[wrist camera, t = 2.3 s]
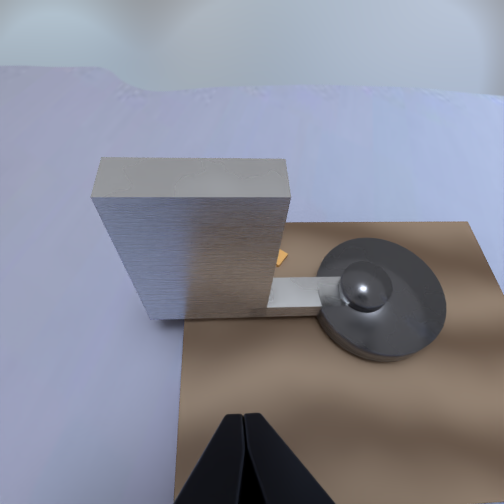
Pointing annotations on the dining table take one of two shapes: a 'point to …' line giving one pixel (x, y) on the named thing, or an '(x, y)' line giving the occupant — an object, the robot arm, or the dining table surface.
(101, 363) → the dining table surface
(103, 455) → the dining table surface
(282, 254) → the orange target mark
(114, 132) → the dining table surface
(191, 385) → the walnut stand plate
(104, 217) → the lever
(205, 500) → the robot arm
